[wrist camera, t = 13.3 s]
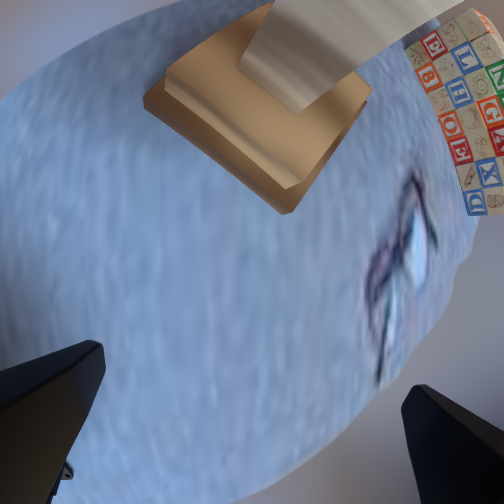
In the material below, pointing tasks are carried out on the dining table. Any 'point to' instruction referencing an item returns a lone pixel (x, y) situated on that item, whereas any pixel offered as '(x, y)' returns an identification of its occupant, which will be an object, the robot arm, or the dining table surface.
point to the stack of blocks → (468, 102)
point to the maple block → (260, 104)
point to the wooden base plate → (234, 149)
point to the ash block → (326, 42)
